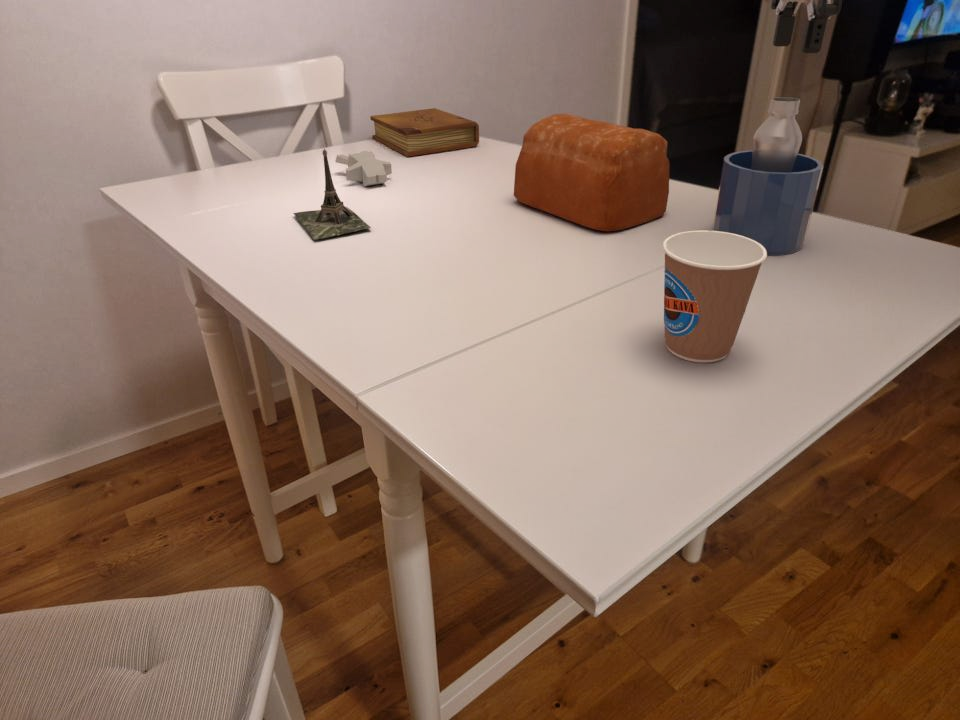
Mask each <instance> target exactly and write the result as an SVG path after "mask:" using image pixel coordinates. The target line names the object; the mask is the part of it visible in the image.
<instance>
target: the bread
mask: <svg viewBox="0 0 960 720" xmlns="http://www.w3.org/2000/svg"><path fill="white" fill-rule="evenodd" d="M667 153H668V141H667V140H666V139H665V138H664V137H663V136H662V135H661V134H659V133H657V132H653V131H651V130H648V129H644V128H632V127H630V126H629V127H628V126H625V125H624V126H623V125H620V124H615V123H612V122H607V121H602V120H595V119H588V118H586V117H582V116H577V115H573V114H570V113H554V114H552V115H549V116H546V117H544V118H541V119H540V120H538V121H536V122H535V123H533V124H532V125H531V126H530V128H529V129H528V130H527V131H526V132H525V133H524V134H523V137H522V145H521V148H520V150H519V154H518V157H517V160H516V162H515V169H514V170H515V171H514V184H513V196H514V198H515V199H516V200H517V201H518V202H519V203H521V204H524V205H526V206H529V207H531V208H534V209H537V210H540V211H543V212H546V213H548V214H551V215H553V216H556V217H559V218H562V219H564V220H566V221H568V222H572V223H575V224H577V225H580V226H582V227H585V228H588V229H591V230H596V231H602V232H613V231H614V232H615V231H622V230H625V229H629V228H632V227H637V226H639V225H643V224H645V223H648V222H650V221H653V220H656V219H658V218H660V217H662V216H663V215H664V214H665V213H666V212H667V206H668V201H669V194H670V160H669V158H668V157H667Z"/></svg>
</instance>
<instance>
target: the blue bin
mask: <svg viewBox="0 0 960 720" xmlns="http://www.w3.org/2000/svg"><path fill="white" fill-rule="evenodd" d="M751 166H752V149H751V150H750V149H749V150H748V149H747V150H741V151H735V152H731V153H729V154H727V155H725V156H724V157H723V161H722V167H721V174H720V179H719V184H718V192H717V196H716V203H715V210H714V214H713V215H714V216H713V222H712V228H711V231H721V232H728V233H733V234H737V235H741V236H744V237H747V238H750V239H752V240H754V241H756V242H758V243H760V244H761V245H762V246H763V247H764V248H765V249H766V252H767V257H768V256H772V257H773V256H786V255H789V254H790V255H791V254H793V253H797V252H799V251H800V250H802V249H803V247H804V245H805V242H806V239H807V235H808V231H809V227H810V223H811V218H812V215H813V211H814V207H815V202H816V198H817V194H818V190H819V186H820V182H821V178H822V173H823V169H824V164H823V162H822V161H821V160H819V159H817V158H815V157H814V156H813V157H812V156H809V155H806V154H802V153H798V154H797V157H796V160H795V162H794V165H793V169H792V172H790V173H781V172H765V171H757V170H752V169H751ZM762 256H763V254H762Z"/></svg>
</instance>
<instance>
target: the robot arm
mask: <svg viewBox="0 0 960 720" xmlns="http://www.w3.org/2000/svg"><path fill="white" fill-rule="evenodd" d="M832 2H833V3H832ZM802 3H803V5H805V6H806V11H807V19H808V20H807V21H806V24H805V29H804V34H803V38H802V43H801V47H800V50H801V52H802V53H803V54H818V53H819V52H821V49H822V46H823V45H822V44H823V41H824V36H825V32H826V31H825V30H826V28H827V27H826V26H827V22H828V20H830V19H831V18H832V17H833V16H838V15H840V12H841V10H842V5H843V0H833V1H832V0H771V4H770V9H771V10H775V16H777V19H776V23H775V28H774V29H775V30H774V34H773V40H772V45H773V47H778V48H779V47H780V48H781V47H788V46H790V45H791V43H792V37H793V32H794V27H795V21H796V19H797V18H796V14H797V13H798V10H799V9H800V6H801V4H802Z"/></svg>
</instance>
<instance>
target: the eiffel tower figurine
mask: <svg viewBox="0 0 960 720" xmlns="http://www.w3.org/2000/svg"><path fill="white" fill-rule="evenodd" d="M322 144H323V146H325V143H322ZM322 156H323V167H324V180H325V181H324V183H325V185H324V187H325V189H324V191H323V192H324V198H323V201H322V202H323V203H322V204H320V209H318V210H306V211H305V210H304V211H299V212H293V215H294V216H295V217H296V218H297V220H298V221H299V222H300V223H301V225H302V226H303V228H304V229H306V231H307V232H308V233H309V235H310V237H311V238H312V239H313V240H314V241H316V240H322V239H326V238H331V237H335V236H340V235H344V234H350V233H353V232H358V231H362V230H366V229H372V227H371V226H370V224H367V223H366V222H365V221H364V220H363V219H362V218H361V217H360V216H359V215H358V214H356V213H355V212H354V211H353V210H352V209H350V208H349V207H348V206H345V205H344V201H342V200H341V199H340V197H339V195H338V193H337V189H336V188H335V186H334V182H333V179H332V173H331V169H330V165H329V160H328V151H327V150H326V148H323V150H322Z"/></svg>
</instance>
